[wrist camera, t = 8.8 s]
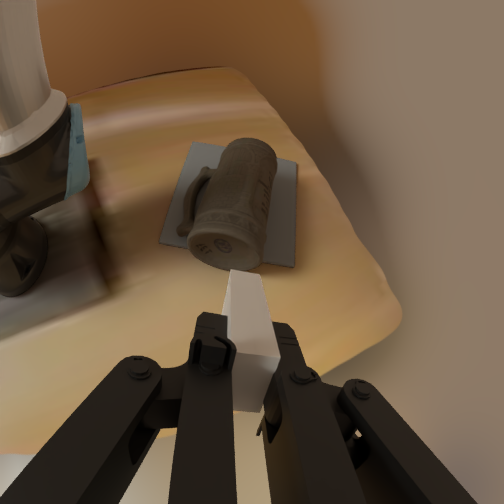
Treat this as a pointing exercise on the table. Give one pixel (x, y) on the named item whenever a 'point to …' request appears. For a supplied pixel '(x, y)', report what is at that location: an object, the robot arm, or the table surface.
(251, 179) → the beer stein
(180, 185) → the mat
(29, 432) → the table surface
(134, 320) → the table surface
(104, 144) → the table surface
